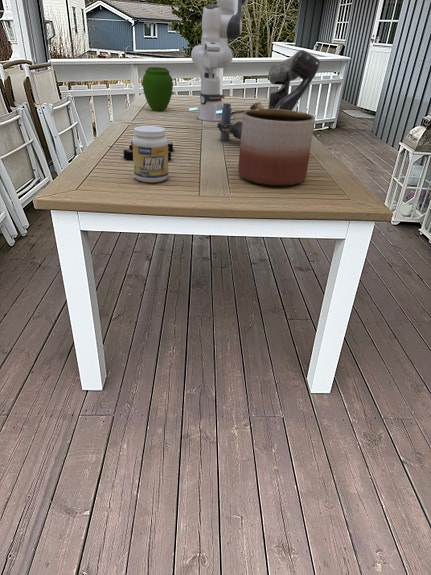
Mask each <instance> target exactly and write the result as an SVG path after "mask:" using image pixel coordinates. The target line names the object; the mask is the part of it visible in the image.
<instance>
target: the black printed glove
mask: <svg viewBox="0 0 431 575" xmlns="http://www.w3.org/2000/svg"><path fill="white" fill-rule="evenodd" d="M128 148H129V149H123V158H124V159H126V160H127V161H133V145H132V140H131V143H130V145H129V147H128ZM172 152H174V143H173V142H172V141H168V161H171V160H172Z"/></svg>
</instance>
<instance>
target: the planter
mask: <svg viewBox="0 0 431 575" xmlns="http://www.w3.org/2000/svg"><path fill="white" fill-rule="evenodd" d="M244 111H245V112H242V121H241V122H242V132H241V139H240V144H239V145H240V146H239V156H238V166H237V168H238V169H237V170H238V171H237V172H238V174H239V175H240V177H241V178H243V179H245V181H248V182H251V183H254V184H256V185H262V186H269V187H288V186H295V185H297V184H300V183H302V182H303V181H305V179H306V177H307V174H308V167H309V161H310V154H311V146H312V140H313V134H314V128H315V121H316V116H314V115H312V114H310V113H306V112H302V111H297V110H292V111H291V110H282V109H268V108H264V109H252V110H250V109H247V110H244Z"/></svg>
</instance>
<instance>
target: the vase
mask: <svg viewBox="0 0 431 575" xmlns="http://www.w3.org/2000/svg"><path fill="white" fill-rule="evenodd" d="M141 84H142V89H143V94H144V97H145V100H146V102H147V104H148V107H149V108H150V109H151V110H152V111H154V112H164V111H165V110H166V109H167V108H168V106H169V104H170V102H171V99H172V95H173V88H174V82H173V77H172V76H171V74H170V70H169V69H167V67H155V66H154V67H151V66H149V67H148V68H147V69H145V73H144V74H143V76H142V81H141Z"/></svg>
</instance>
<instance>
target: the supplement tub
mask: <svg viewBox="0 0 431 575" xmlns="http://www.w3.org/2000/svg"><path fill="white" fill-rule="evenodd" d="M133 130H134V131H133V134H134V136H133V137H132V140H131V141H132V145H133V160H132V161H133V176H134V178H135V179H136V180H138V181H139V182H143V183H161V182H164V181H166V180H167V179H168V177H169V160H168V142H169V141H168V138H167V137H166V128H164V127H162V126H157V125H139V126H136V127H134V128H133Z"/></svg>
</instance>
